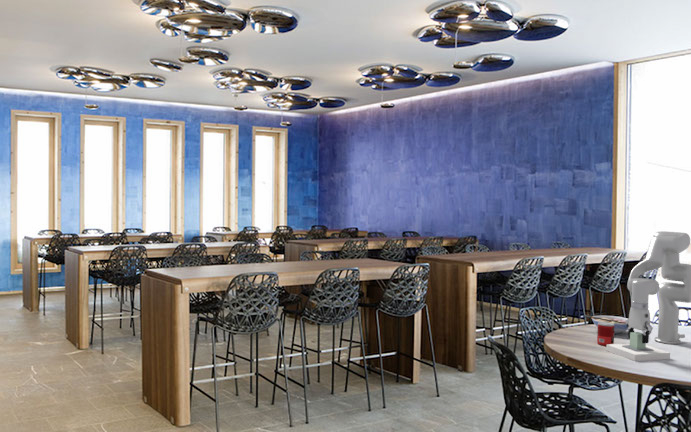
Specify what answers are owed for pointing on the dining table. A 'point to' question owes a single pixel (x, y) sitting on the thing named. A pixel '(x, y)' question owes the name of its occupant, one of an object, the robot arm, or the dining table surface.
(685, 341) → the dining table surface
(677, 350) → the dining table surface
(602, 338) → the canned food
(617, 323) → the ramen bowl
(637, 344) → the green block
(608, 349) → the base board
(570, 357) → the dining table surface
